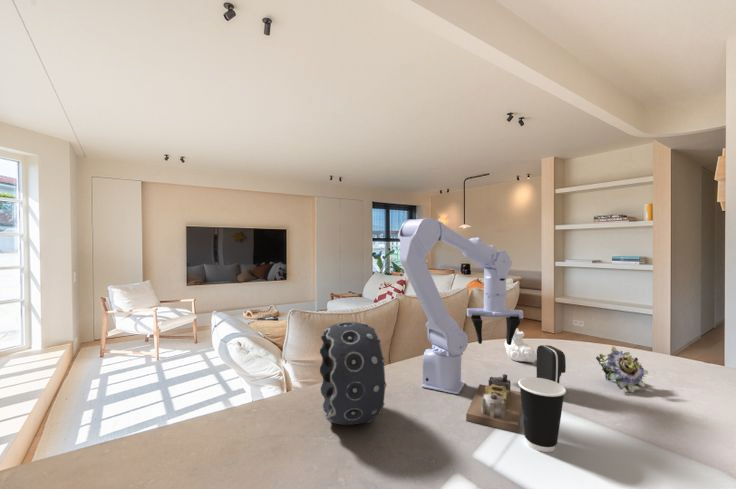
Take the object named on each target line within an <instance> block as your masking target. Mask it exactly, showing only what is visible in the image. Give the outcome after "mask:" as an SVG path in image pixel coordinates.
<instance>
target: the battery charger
mask: <svg viewBox="0 0 736 489" xmlns="http://www.w3.org/2000/svg"><path fill="white" fill-rule="evenodd" d="M535 362H536V366H535V367H536V378H543V379H548V380H551V381H554V382H557V383H559V384H560V380H561V376H562V374H565V373H566V368H567V366H566V364H567V361H566V355H565V353H564V351H562V350H561V349H559V348H557V347H555V346H553V345H549V344H547V345H546V344H545V345H544V344H543V345H542V344H540V345H538V346H537V349H536V360H535Z"/></svg>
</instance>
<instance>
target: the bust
mask: <svg viewBox="0 0 736 489" xmlns="http://www.w3.org/2000/svg"><path fill="white" fill-rule="evenodd" d="M524 336H525V333H524V331H523V330H522V331H520V329H519V328H518V327H517V329H516V331H515V333H514V335H513V338H512V342H511V345H508V344H507V343H506V340H505V342H504V343H503V345H504V347H505V350H506V351H505V352H506V353H505V354H507V356H508V357H509V358H510V359H511V360H512V361H516V362H525V363H531V364H532V363H535V362H536V360H537V352H535V349H534V347H533V346H531V345H528V344H527V343H525V341H524V340H523V337H524Z"/></svg>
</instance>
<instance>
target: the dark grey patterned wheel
mask: <svg viewBox="0 0 736 489" xmlns="http://www.w3.org/2000/svg"><path fill="white" fill-rule="evenodd" d="M322 331H323V332H322V334H321V335H320V336H321V337H320V339H321V341H322V344H321V346H320V348H319V354H320V355H321V358H322V360H321V364H320V366H319V374H320V375H321V377H322V383H321V385H320V387H319V389H320V394H321V395H322V396H323V398H324V401H323V404H322V411H324V412H325V413H326V414H325V415H324V416H325V417H324V418H325V419H326V420H327V421H328V422H331V423H333V424H337V425H342V426H344V425H346V426H347V425H359V424H363V423H370V422H372V421H373V419H374V418H375V417H376V416H379V415H380V414H381V412H382V409H383V407H384V406H385V394H386V388H387V383H386V370H385V363H386V360H385V358H384V355H383V349H382V344H381V338H379V336H378V334H377V332H376V329H375V327H373V326H370V325H368V324H367V323H366V322H356V321H345V322H344V321H343V322H339V323H338V322H337V323H335V324H332V325H330V326H328V327H326V328H325V329H323V330H322Z"/></svg>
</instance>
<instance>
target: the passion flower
mask: <svg viewBox="0 0 736 489" xmlns="http://www.w3.org/2000/svg"><path fill="white" fill-rule="evenodd" d="M610 351H611V352H610V353H608V354H607V355H606V354H603V353H600V354H599V355H597V356H596V357H595V359H596V360H597V361H598V364H599V365H600V366H601V367H602V368H601V370H602V371H603V373H604V377H605V380H606V381H615V383H616V385H617V387H618V388H619V389H620V390H623V389H626V391H627V392H629V393H631V394H633V393H634V392H635V387H636V385H637V386H640V387H642V388H645V386H646V385H645V382H644V381H643V380H644V378H646V375H648V374H649V371H648V369H647V370H646V369H644V367H643V366H642V362H641V361H639V358H638V357H633V356H632V354H631V352H630V351H626V352H624V353H623V351H622V350H618V349H617V348H616V347H615V346H613V345H612V346H611V349H610ZM606 356H607V358H605V357H606ZM604 358H605V359H604ZM643 377H644V378H643Z"/></svg>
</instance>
